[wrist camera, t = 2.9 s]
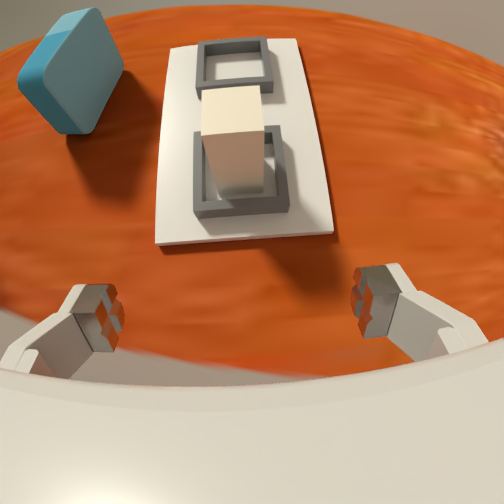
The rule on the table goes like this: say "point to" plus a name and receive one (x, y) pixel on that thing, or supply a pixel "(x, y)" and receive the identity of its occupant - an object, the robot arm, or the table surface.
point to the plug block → (234, 138)
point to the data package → (72, 72)
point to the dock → (275, 147)
